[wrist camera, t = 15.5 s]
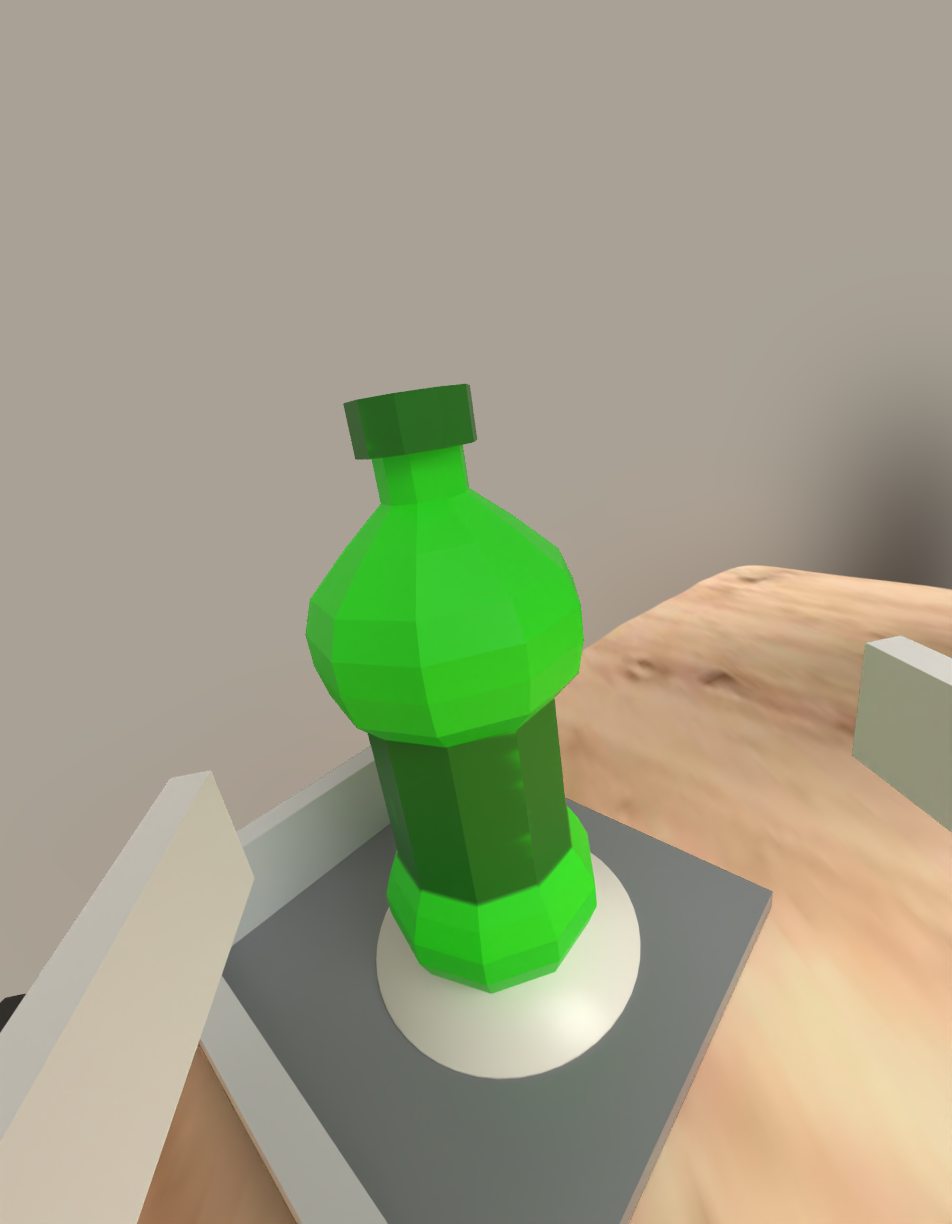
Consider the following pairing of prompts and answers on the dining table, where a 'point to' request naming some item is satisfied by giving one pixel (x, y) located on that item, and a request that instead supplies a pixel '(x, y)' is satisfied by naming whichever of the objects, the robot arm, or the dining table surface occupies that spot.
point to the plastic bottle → (459, 698)
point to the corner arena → (464, 1027)
